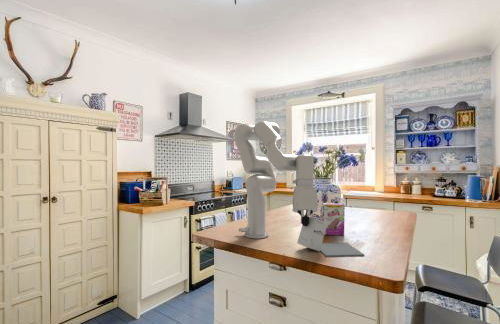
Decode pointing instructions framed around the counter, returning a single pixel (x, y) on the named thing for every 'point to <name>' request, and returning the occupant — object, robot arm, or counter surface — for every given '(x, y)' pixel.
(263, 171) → the robot arm
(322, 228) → the supplement box
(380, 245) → the counter surface
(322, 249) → the mat
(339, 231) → the candy bar box
